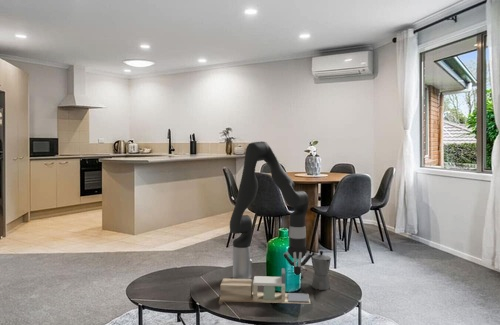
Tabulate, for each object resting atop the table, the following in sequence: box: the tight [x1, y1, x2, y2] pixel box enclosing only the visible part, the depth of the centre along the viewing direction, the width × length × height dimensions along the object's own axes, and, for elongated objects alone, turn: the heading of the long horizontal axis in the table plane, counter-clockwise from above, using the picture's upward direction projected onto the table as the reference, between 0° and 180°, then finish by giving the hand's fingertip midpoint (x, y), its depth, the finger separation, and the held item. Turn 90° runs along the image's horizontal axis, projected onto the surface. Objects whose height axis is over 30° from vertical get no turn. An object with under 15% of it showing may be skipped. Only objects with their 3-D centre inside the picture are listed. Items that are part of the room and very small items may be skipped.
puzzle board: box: [218, 277, 311, 305], centre depth 179 cm, size 12×40×8 cm, turn 86°
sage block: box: [263, 286, 276, 300], centre depth 178 cm, size 5×5×6 cm
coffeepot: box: [310, 250, 332, 291], centre depth 197 cm, size 15×9×18 cm, turn 23°
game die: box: [300, 265, 308, 278], centre depth 213 cm, size 9×8×10 cm
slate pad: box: [287, 292, 310, 302], centre depth 178 cm, size 9×9×1 cm
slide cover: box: [252, 267, 286, 287], centre depth 178 cm, size 9×14×5 cm, turn 86°
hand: (297, 274), depth 177 cm, fingers closed
